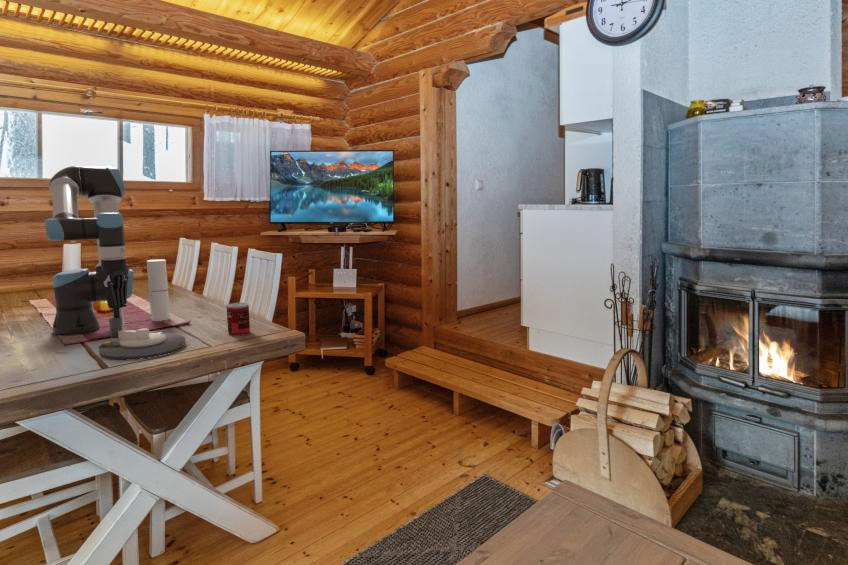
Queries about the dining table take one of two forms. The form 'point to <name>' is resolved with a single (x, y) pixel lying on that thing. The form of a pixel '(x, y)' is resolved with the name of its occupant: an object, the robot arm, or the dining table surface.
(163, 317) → the cylindrical container
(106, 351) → the dial plate
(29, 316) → the dining table surface
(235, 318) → the canned food
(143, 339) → the dial
